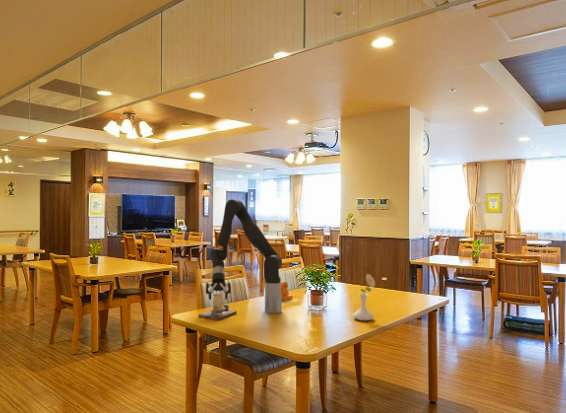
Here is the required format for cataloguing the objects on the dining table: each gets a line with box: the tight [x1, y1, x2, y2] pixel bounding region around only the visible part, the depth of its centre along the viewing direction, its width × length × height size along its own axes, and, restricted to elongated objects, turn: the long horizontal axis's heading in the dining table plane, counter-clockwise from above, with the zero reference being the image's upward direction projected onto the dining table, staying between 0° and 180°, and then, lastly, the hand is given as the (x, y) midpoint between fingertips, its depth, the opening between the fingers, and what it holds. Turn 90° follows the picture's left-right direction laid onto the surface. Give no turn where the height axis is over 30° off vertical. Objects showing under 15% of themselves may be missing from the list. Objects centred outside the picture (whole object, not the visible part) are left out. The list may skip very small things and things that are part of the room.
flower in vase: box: [352, 273, 376, 321], centre depth 232 cm, size 13×11×25 cm
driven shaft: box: [210, 309, 217, 317], centre depth 230 cm, size 3×4×3 cm
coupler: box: [212, 293, 223, 314], centre depth 236 cm, size 5×5×10 cm
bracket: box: [280, 280, 294, 302], centre depth 283 cm, size 11×7×12 cm, turn 125°
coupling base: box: [198, 309, 237, 321], centre depth 236 cm, size 14×17×2 cm
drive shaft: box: [222, 303, 230, 311], centre depth 242 cm, size 3×4×3 cm
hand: (218, 299), depth 236 cm, fingers open, 8 cm apart
